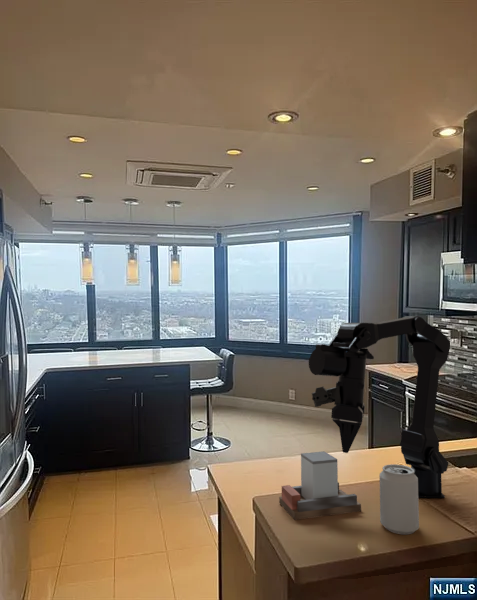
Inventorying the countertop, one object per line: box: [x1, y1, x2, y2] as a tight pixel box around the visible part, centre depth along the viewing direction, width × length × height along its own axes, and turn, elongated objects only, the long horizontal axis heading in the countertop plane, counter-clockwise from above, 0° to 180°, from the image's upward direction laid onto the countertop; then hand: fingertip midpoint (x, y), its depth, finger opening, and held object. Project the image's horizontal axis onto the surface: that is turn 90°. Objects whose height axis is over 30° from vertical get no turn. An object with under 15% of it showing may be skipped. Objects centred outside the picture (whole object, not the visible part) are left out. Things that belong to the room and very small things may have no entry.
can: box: [379, 463, 420, 535], centre depth 90 cm, size 8×8×12 cm
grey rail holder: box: [278, 482, 362, 521], centre depth 100 cm, size 16×9×4 cm, turn 106°
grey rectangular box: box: [300, 451, 339, 500], centre depth 100 cm, size 6×6×10 cm
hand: (346, 448), depth 98 cm, fingers open, 9 cm apart
